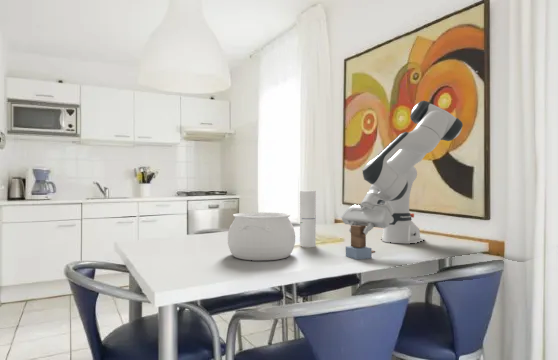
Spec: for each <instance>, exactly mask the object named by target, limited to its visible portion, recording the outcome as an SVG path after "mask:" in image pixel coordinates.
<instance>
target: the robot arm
mask: <svg viewBox="0 0 558 360" xmlns="http://www.w3.org/2000/svg"><path fill="white" fill-rule="evenodd" d="M409 117H410V120H411V121H412V122H413V123H414V124H416V126H415V127H414V128H413V130H411V131H404V132H402V133H400V134H399V135H398V136H396V137H395V138H394V139H393V140H392V141H391V142H389V143H388V144H387V145H386V146H385V148H383V149H382V150H381V151H380V152H379V153H378V154H377V155H376V156H375V157H373V159H371V160H370V161H368V162H367V163H366V164H365V165H364V167H363V169H362V176H363V180H364V181H366V182H367V183H369V184H371V185H370V187H368V192H367V193H366V194H365V195H364V197H363V198H362V200H361V202H360V205H359V204H358V205H357V204H353V205H352V206H349V207H348V208H347V209H346V210H345V211H344V213H343V214H342V216H341V220H342V222H343V223H344V225H349V226H350V228H349V230H348V231H349V233H350V234H351V226H352V225H363V226H366V228H363V229H362V234H365V235H366V236H367V234H368V233H369V232H370V231H372V230H373V229H374V228H381V229H382V237H380V240H381V239H382V242H385V243H390V242H391V244H410V243H415V244H418V243H417V242H419V243H421V242H420V241H422V242H424V241H423V240H425V241H426V239H425V238H423V237H421V233H420V232H421V231H420V227H418V226H417V225H416V224H415V223H414V222H413V221H412V220H413V218H415V213H410V197H411V191H412V188H413V183H414V182H415V181H416V179H417V176H418V171H417V169H416V167H415V166H416V165H417V164H418V163H420V162H421V161H422V160H423V159H424V158H425V156H426V155H427V154H429V153H431V152H433V150H434V149H436V147H437V146H438V145H439V143H440V142H441V141H447V142H450V141H453V140H454V139H456V138H457V137H459V135H460V134H461V132H462V129H463V126H464V125H463V121H461V120H460V119H459V117H456V116H454V115H453V114H452V113H450V112H449V111H447V110H445V109H443V108H441V107H439V106H437V105H435V104H433V103H431V102H429V101H427V100H421V101H419V102H417V103H416V104H415V105H414V106H413V108H412V109H411V113H410V115H409Z"/></svg>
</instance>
